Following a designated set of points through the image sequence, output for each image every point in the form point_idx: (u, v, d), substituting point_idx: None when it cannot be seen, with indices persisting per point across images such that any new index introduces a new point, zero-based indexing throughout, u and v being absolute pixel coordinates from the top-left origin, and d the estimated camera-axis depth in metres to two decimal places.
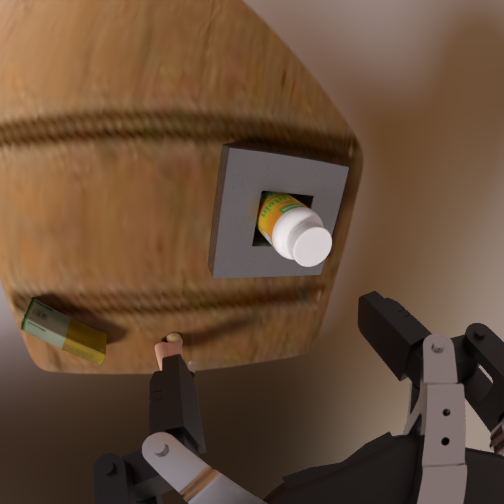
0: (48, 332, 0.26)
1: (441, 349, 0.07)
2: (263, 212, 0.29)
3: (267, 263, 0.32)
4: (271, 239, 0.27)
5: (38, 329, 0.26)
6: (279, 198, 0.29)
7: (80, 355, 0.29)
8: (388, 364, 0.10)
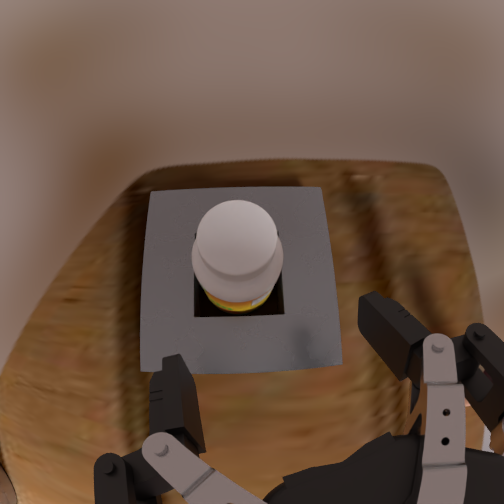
0: None
1: (441, 349, 0.07)
2: (226, 308, 0.19)
3: (312, 280, 0.20)
4: (253, 299, 0.16)
5: None
6: None
7: None
8: (388, 364, 0.10)
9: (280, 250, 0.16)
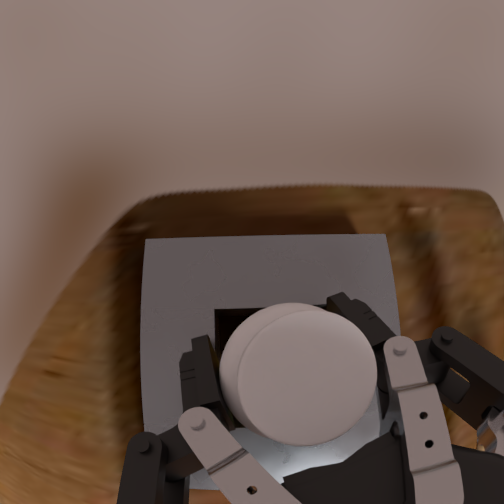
0: None
1: (402, 352, 0.08)
2: None
3: None
4: None
5: None
6: None
7: None
8: None
9: None
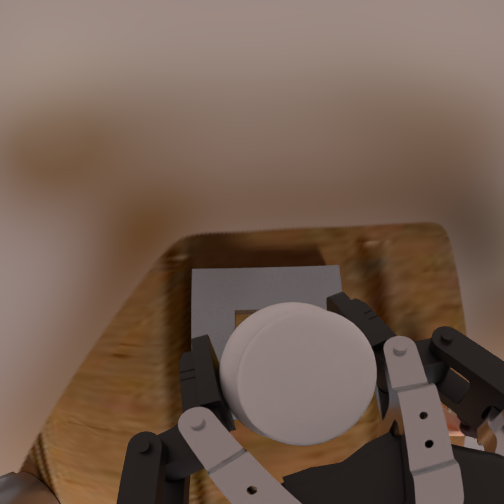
0: None
1: (402, 352, 0.08)
2: None
3: None
4: None
5: None
6: None
7: None
8: None
9: None
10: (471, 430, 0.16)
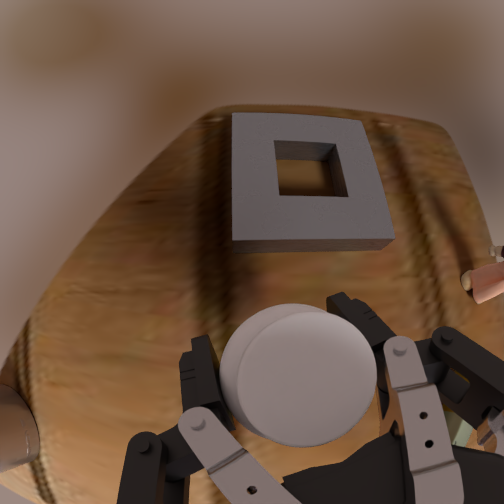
0: (457, 437, 0.16)
1: (402, 352, 0.08)
2: None
3: (364, 177, 0.24)
4: None
5: None
6: None
7: None
8: None
9: None
10: None
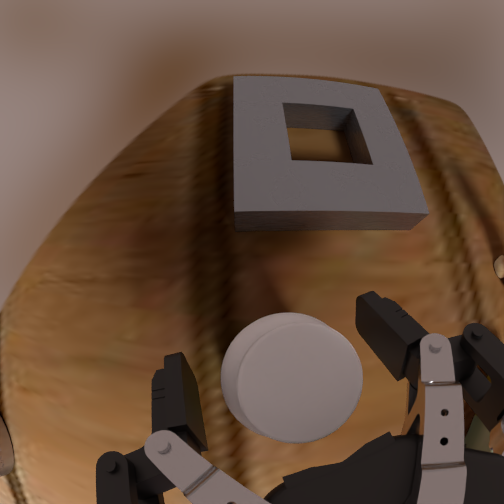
0: None
1: (438, 349, 0.07)
2: None
3: (388, 144, 0.20)
4: None
5: None
6: None
7: None
8: (385, 364, 0.10)
9: None
10: None
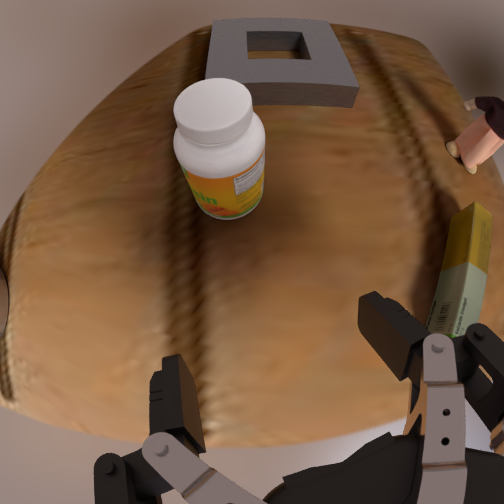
0: (467, 293, 0.16)
1: (441, 349, 0.07)
2: (211, 202, 0.18)
3: (327, 49, 0.23)
4: (233, 176, 0.15)
5: (465, 312, 0.15)
6: None
7: (488, 242, 0.17)
8: (388, 364, 0.10)
9: (260, 127, 0.15)
10: (496, 108, 0.15)
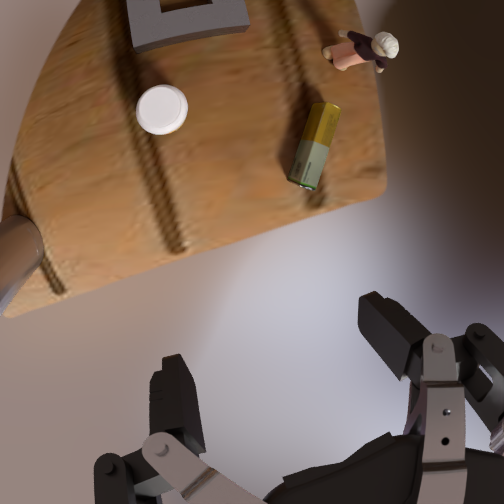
0: (311, 159, 0.34)
1: (441, 349, 0.07)
2: None
3: None
4: (174, 130, 0.27)
5: (310, 170, 0.34)
6: None
7: (333, 127, 0.33)
8: (388, 364, 0.10)
9: (184, 102, 0.25)
10: (363, 45, 0.24)
